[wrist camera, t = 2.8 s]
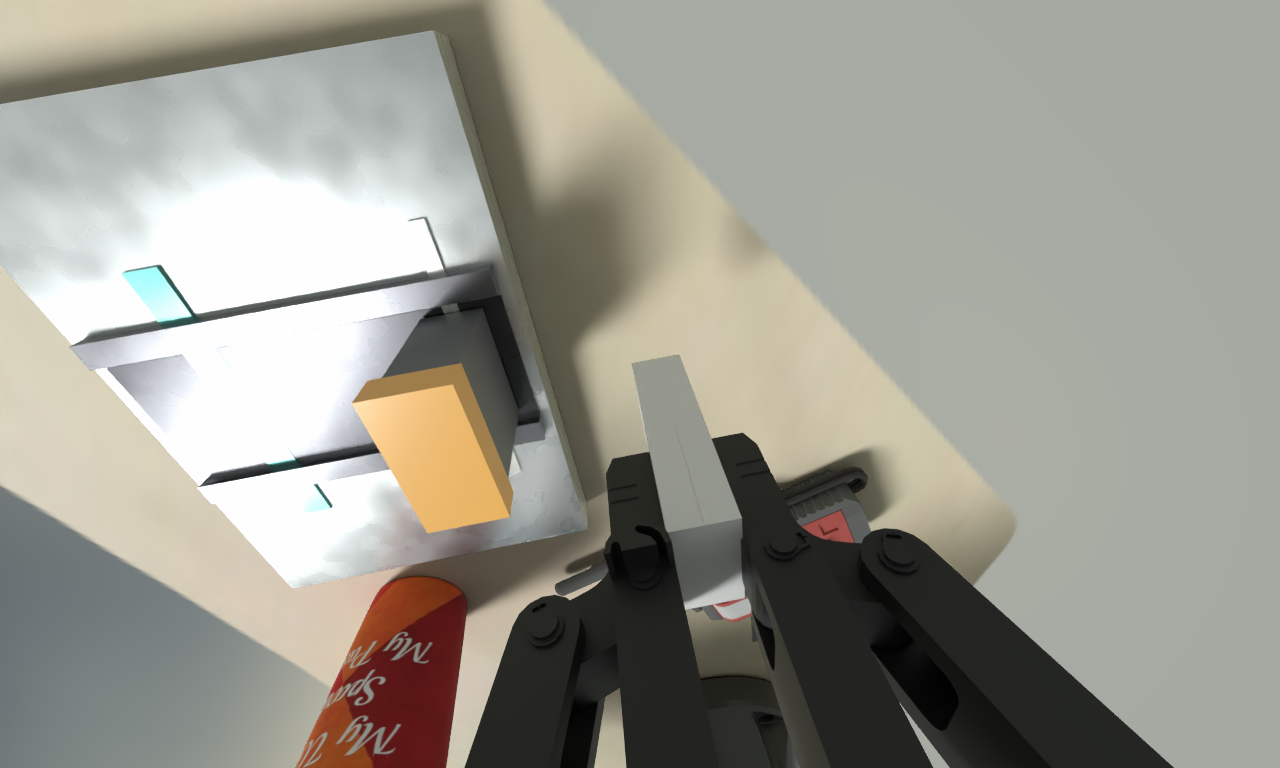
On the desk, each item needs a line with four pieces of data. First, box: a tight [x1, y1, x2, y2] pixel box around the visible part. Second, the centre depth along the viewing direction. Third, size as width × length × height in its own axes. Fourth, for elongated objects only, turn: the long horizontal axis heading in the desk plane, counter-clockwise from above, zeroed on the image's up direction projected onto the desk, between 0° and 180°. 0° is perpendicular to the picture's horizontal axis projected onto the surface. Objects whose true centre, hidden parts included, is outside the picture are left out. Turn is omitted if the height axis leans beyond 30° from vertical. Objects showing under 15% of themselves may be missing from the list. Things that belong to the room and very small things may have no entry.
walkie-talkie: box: [555, 467, 871, 622], centre depth 29 cm, size 9×4×20 cm
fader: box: [352, 308, 519, 533], centre depth 17 cm, size 5×3×6 cm, turn 9°
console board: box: [0, 30, 587, 588], centre depth 20 cm, size 22×16×3 cm
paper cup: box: [295, 576, 467, 768], centre depth 24 cm, size 8×8×14 cm
